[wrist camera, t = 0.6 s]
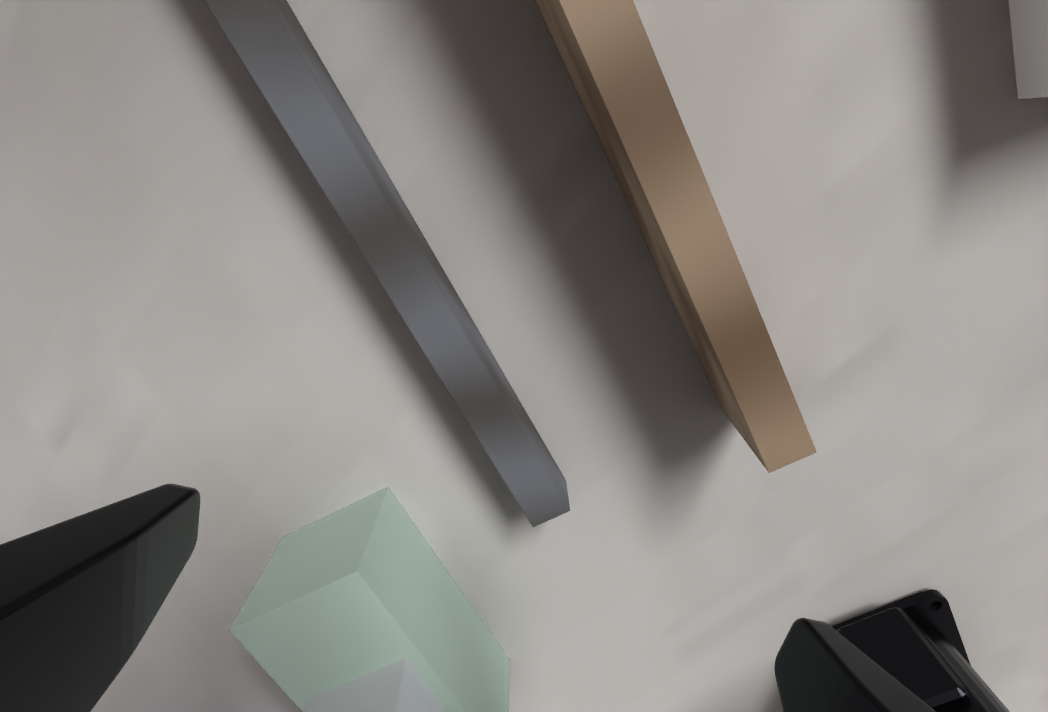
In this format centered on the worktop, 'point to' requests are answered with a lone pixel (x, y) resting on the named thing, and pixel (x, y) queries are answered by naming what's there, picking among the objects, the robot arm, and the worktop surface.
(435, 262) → the brown and gray bars
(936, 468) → the worktop surface
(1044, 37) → the pixel art tile
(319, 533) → the mint block with post
